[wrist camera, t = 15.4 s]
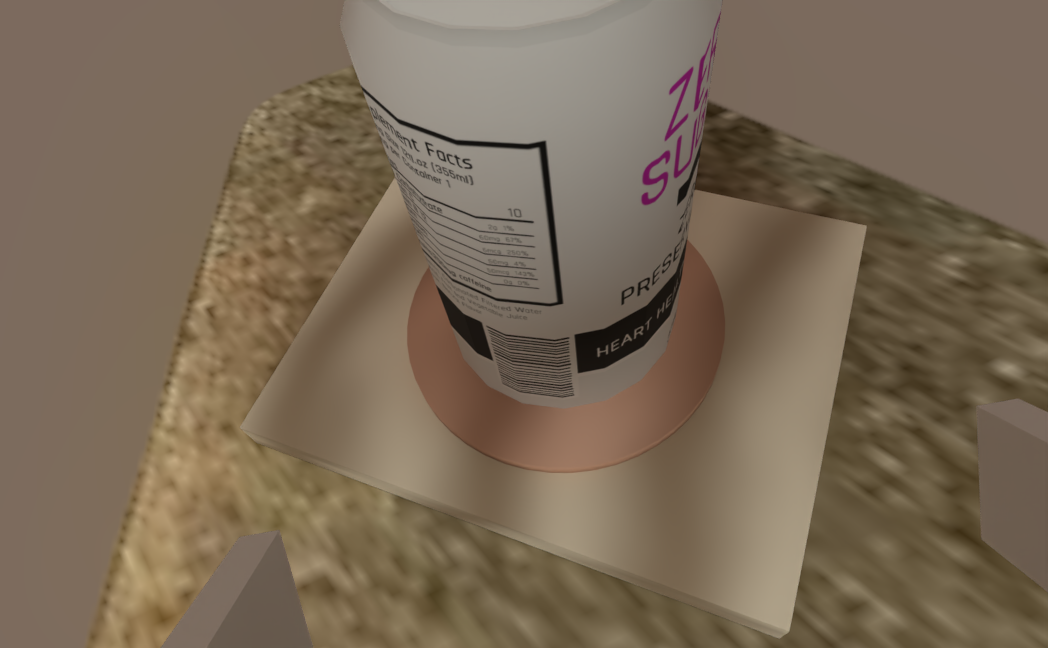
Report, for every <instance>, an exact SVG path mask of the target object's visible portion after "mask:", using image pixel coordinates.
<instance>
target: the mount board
mask: <svg viewBox="0 0 1048 648" xmlns="http://www.w3.org/2000/svg"><path fill="white" fill-rule="evenodd" d="M866 228H867V226H865V225H861V224H856V223H851V222H846V221H842V220H837V219H832V218H827V217H823V216H818V215H813V214H808V213H804V212H799V211H794V210H789V209H785V208H780V207H775V206H770V205H766V204H761V203H756V202H751V201H747V200H742V199H737V198H732V197H728V196H723V195H718V194H713V193H709V192H704V191H699V190H694V197H693V204H692V210H691V217H690V224H689V231H688V238H687V244H686V251H685V258H684V265H683V271H682V278H681V285H680V292H679V299H678V305H677V312H676V318H675V322H674V325H673V328H672V331H671V334H670V338H669V341H668V344H667V347H666V351H665V352H664V353H663V355H662V356H661V357H660V358H659V359H658V361H657V362H656V363H655V364H654V365H653V367H652V368H651V369H650V370H649V371H648V373H647V374H646V375H645V376H644V377H643V379H642V380H641V381H639V382H637V383H636V384H634V385H632V386H630V387H629V388H627V389H625V390H623V391H622V392H620V393H618V394H616V395H615V396H613V397H611V398H609V399H608V400H606V401H601V402H596V403H591V404H586V405H581V406H576V407H571V408H565V409H562V408H554V407H547V406H539V405H531V404H523V403H521V402H519V401H517V400H515V399H513V398H511V397H509V396H507V395H505V394H503V393H501V392H499V391H497V390H495V389H493V388H491V387H489V386H487V384H486V383H485V382H484V381H483V380H482V379H481V378H480V377H479V376H478V375H477V373H476V372H475V371H474V370H473V369H472V368H471V367H470V366H469V365H468V364H467V362H466V361H465V360H464V359H463V356H462V353H461V351H460V348H459V345H458V343H457V340H456V337H455V335H454V332H453V329H452V327H451V324H450V321H449V319H448V316H447V313H446V311H445V308H444V305H443V303H442V300H441V298H440V295H439V292H438V290H437V287H436V284H435V282H434V279H433V276H432V274H431V271H430V268H429V266H428V263H427V260H426V258H425V255H424V252H423V250H422V247H421V244H420V242H419V239H418V236H417V234H416V231H415V228H414V226H413V223H412V220H411V218H410V215H409V212H408V210H407V207H406V204H405V202H404V199H403V196H402V194H401V191H400V188H399V186H398V183H397V180H396V178H394V180H393V181H392V183H391V185H390V186H389V188H388V189H387V191H386V193H385V194H384V196H383V198H382V199H381V201H380V202H379V204H378V206H377V207H376V209H375V210H374V212H373V214H372V215H371V217H370V218H369V220H368V222H367V223H366V225H365V227H364V228H363V230H362V231H361V233H360V235H359V236H358V238H357V239H356V241H355V243H354V244H353V246H352V247H351V249H350V251H349V252H348V254H347V256H346V257H345V259H344V260H343V262H342V264H341V265H340V267H339V268H338V270H337V272H336V273H335V275H334V276H333V278H332V280H331V281H330V283H329V285H328V286H327V288H326V289H325V291H324V293H323V294H322V296H321V297H320V299H319V301H318V302H317V304H316V305H315V307H314V309H313V310H312V312H311V313H310V315H309V317H308V318H307V320H306V322H305V323H304V325H303V326H302V328H301V330H300V331H299V333H298V334H297V336H296V338H295V339H294V341H293V342H292V344H291V346H290V347H289V349H288V351H287V352H286V354H285V355H284V357H283V359H282V360H281V362H280V363H279V365H278V367H277V368H276V370H275V371H274V373H273V375H272V376H271V378H270V380H269V381H268V383H267V384H266V386H265V388H264V389H263V391H262V392H261V394H260V396H259V397H258V399H257V400H256V402H255V404H254V405H253V407H252V409H251V410H250V412H249V413H248V415H247V417H246V418H245V420H244V421H243V423H242V425H241V426H240V429H242V430H243V431H244V432H245V433H246V434H247V435H248V436H250V437H251V438H252V439H253V440H254V441H255V442H256V443H259V444H261V445H264V446H267V447H269V448H272V449H275V450H277V451H280V452H283V453H285V454H288V455H291V456H293V457H296V458H299V459H301V460H304V461H307V462H309V463H312V464H315V465H317V466H320V467H323V468H325V469H328V470H331V471H333V472H336V473H339V474H341V475H344V476H347V477H349V478H352V479H355V480H357V481H360V482H363V483H365V484H368V485H371V486H373V487H376V488H379V489H381V490H384V491H387V492H389V493H392V494H395V495H397V496H400V497H403V498H405V499H408V500H411V501H413V502H416V503H419V504H421V505H424V506H427V507H429V508H432V509H435V510H437V511H440V512H443V513H445V514H448V515H451V516H453V517H456V518H459V519H461V520H464V521H467V522H469V523H472V524H475V525H478V526H480V527H483V528H486V529H488V530H491V531H494V532H496V533H499V534H502V535H504V536H507V537H510V538H512V539H515V540H518V541H520V542H523V543H526V544H528V545H531V546H534V547H536V548H539V549H542V550H544V551H547V552H550V553H552V554H555V555H558V556H560V557H563V558H566V559H568V560H571V561H574V562H576V563H579V564H582V565H584V566H587V567H590V568H592V569H595V570H598V571H600V572H603V573H606V574H608V575H611V576H614V577H616V578H619V579H622V580H624V581H627V582H630V583H632V584H635V585H638V586H640V587H643V588H646V589H648V590H651V591H654V592H656V593H659V594H662V595H664V596H667V597H670V598H672V599H675V600H678V601H680V602H683V603H686V604H688V605H691V606H694V607H696V608H699V609H702V610H704V611H707V612H710V613H712V614H715V615H718V616H720V617H723V618H726V619H728V620H731V621H734V622H736V623H739V624H742V625H744V626H747V627H750V628H752V629H755V630H758V631H760V632H763V633H766V634H768V635H771V636H774V637H776V638H781V637H782V636H783V635H785V634H786V633H788V632H789V630H790V625H791V620H792V615H793V609H794V604H795V599H796V594H797V588H798V583H799V578H800V573H801V568H802V562H803V557H804V552H805V547H806V541H807V536H808V531H809V526H810V521H811V515H812V510H813V505H814V500H815V494H816V489H817V484H818V479H819V473H820V468H821V463H822V458H823V453H824V447H825V442H826V437H827V432H828V426H829V421H830V416H831V411H832V405H833V400H834V395H835V390H836V385H837V379H838V374H839V369H840V364H841V358H842V353H843V348H844V343H845V337H846V332H847V327H848V322H849V317H850V311H851V306H852V301H853V296H854V290H855V285H856V280H857V275H858V269H859V264H860V259H861V254H862V249H863V243H864V238H865V233H866Z"/></svg>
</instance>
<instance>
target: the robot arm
mask: <svg viewBox="0 0 1048 648" xmlns="http://www.w3.org/2000/svg"><path fill="white" fill-rule="evenodd" d="M977 430H978V458H979V487H980V515H981V539H982V540H983V541H984V542H986V543H987V544H988V545H989V546H991V547H992V548H993V549H994V550H996V551H997V552H998V553H999V554H1001V555H1002V556H1003V557H1004V558H1006V559H1007V560H1008V561H1009V562H1011V563H1012V564H1013V565H1014V566H1016V567H1017V568H1018V569H1020V570H1021V571H1022V572H1023V573H1025V574H1026V575H1027V576H1028V577H1030V578H1031V579H1032V580H1033V581H1035V582H1036V583H1037V584H1038V585H1040V586H1041V587H1042V588H1043V589H1045V590H1046V591H1047V592H1048V412H1046V411H1044V410H1042V409H1039V408H1037V407H1035V406H1033V405H1031V404H1029V403H1027V402H1024V401H1022V400H1020V399H1013V400H1007V401H1002V402H996V403H991V404H985V405H979V406H977ZM161 648H313V645H312V642H311V638H310V635H309V631H308V628H307V624H306V621H305V617H304V614H303V610H302V607H301V603H300V600H299V596H298V593H297V590H296V586H295V583H294V579H293V576H292V572H291V569H290V565H289V562H288V558H287V555H286V551H285V548H284V544H283V541H282V537H281V534H280V531H279V530H277V531H271V532H265V533H260V534H254V535H249V536H243V537H239V538H238V540H237V541H236V543H235V544H234V545H233V547H232V548H231V550H230V551H229V552H228V554H227V555H226V557H225V558H224V559H223V561H222V562H221V564H220V565H219V567H218V568H217V569H216V571H215V572H214V574H213V575H212V576H211V578H210V579H209V581H208V582H207V583H206V585H205V586H204V588H203V589H202V590H201V592H200V593H199V595H198V596H197V597H196V599H195V600H194V602H193V603H192V604H191V606H190V607H189V609H188V610H187V611H186V613H185V614H184V616H183V617H182V618H181V620H180V621H179V623H178V624H177V625H176V627H175V628H174V630H173V631H172V633H171V634H170V635H169V637H168V638H167V640H166V641H165V642H164V644H163V645H162V647H161Z"/></svg>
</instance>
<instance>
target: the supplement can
mask: <svg viewBox="0 0 1048 648" xmlns="http://www.w3.org/2000/svg"><path fill="white" fill-rule="evenodd" d="M721 7H722V0H345V1H344V6H343V12H342V18H341V23H340V28H341V30H342V33H343V36H344V39H345V42H346V45H347V48H348V51H349V54H350V57H351V60H352V63H353V66H354V68H355V71H356V74H357V76H358V79H359V82H360V84H361V87H362V90H363V92H364V95H365V98H366V100H367V103H368V106H369V108H370V111H371V114H372V116H373V119H374V122H375V124H376V127H377V130H378V132H379V135H380V138H381V140H382V143H383V146H384V148H385V151H386V154H387V156H388V159H389V162H390V164H391V167H392V170H393V172H394V175H395V178H396V180H397V183H398V186H399V188H400V191H401V194H402V196H403V199H404V202H405V204H406V207H407V210H408V212H409V215H410V218H411V220H412V223H413V226H414V228H415V231H416V234H417V236H418V239H419V242H420V244H421V247H422V250H423V252H424V255H425V258H426V260H427V263H428V266H429V268H430V271H431V274H432V276H433V279H434V282H435V284H436V287H437V290H438V292H439V295H440V298H441V300H442V303H443V305H444V308H445V311H446V313H447V316H448V319H449V321H450V324H451V327H452V329H453V332H454V335H455V337H456V340H457V343H458V345H459V348H460V351H461V353H462V356H463V359H464V360H465V361H466V362H467V364H468V365H469V366H470V367H471V368H472V369H473V370H474V371H475V372H476V373H477V375H478V376H479V377H480V378H481V379H482V380H483V381H484V382H485V383H486V384H487V386H489V387H491V388H493V389H495V390H497V391H499V392H501V393H503V394H505V395H507V396H509V397H511V398H513V399H515V400H517V401H519V402H521V403H523V404H531V405H539V406H547V407H554V408H562V409H565V408H571V407H576V406H581V405H586V404H591V403H596V402H601V401H606V400H608V399H609V398H611V397H613V396H615V395H616V394H618V393H620V392H622V391H623V390H625V389H627V388H629V387H630V386H632V385H634V384H636V383H637V382H639V381H641V380H642V379H643V377H644V376H645V375H646V374H647V373H648V371H649V370H650V369H651V368H652V367H653V365H654V364H655V363H656V362H657V361H658V359H659V358H660V357H661V356H662V355H663V353H664V352H665V351H666V347H667V344H668V341H669V338H670V334H671V331H672V328H673V325H674V322H675V318H676V312H677V305H678V299H679V292H680V285H681V278H682V271H683V265H684V258H685V251H686V244H687V238H688V231H689V224H690V217H691V210H692V204H693V197H694V190H695V183H696V177H697V170H698V163H699V156H700V150H701V143H702V136H703V129H704V122H705V116H706V109H707V102H708V95H709V88H710V82H711V75H712V68H713V61H714V55H715V48H716V41H717V34H718V26H719V20H720V14H721Z"/></svg>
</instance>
